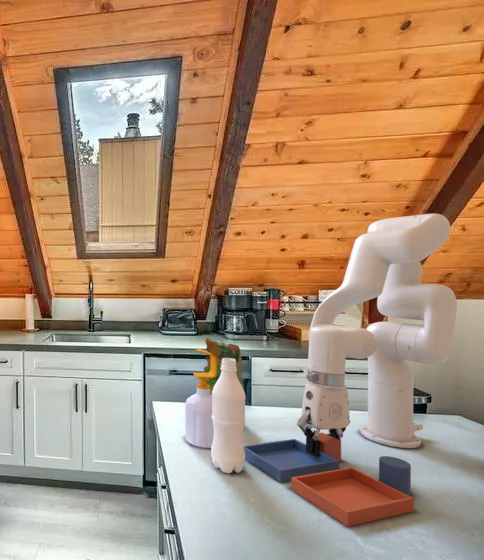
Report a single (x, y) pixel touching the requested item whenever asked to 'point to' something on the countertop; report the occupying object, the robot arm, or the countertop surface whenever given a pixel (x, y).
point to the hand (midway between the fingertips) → (322, 452)
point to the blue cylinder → (395, 473)
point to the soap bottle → (201, 409)
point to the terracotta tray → (352, 495)
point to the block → (330, 446)
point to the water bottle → (228, 419)
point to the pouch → (221, 352)
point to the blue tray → (288, 459)
